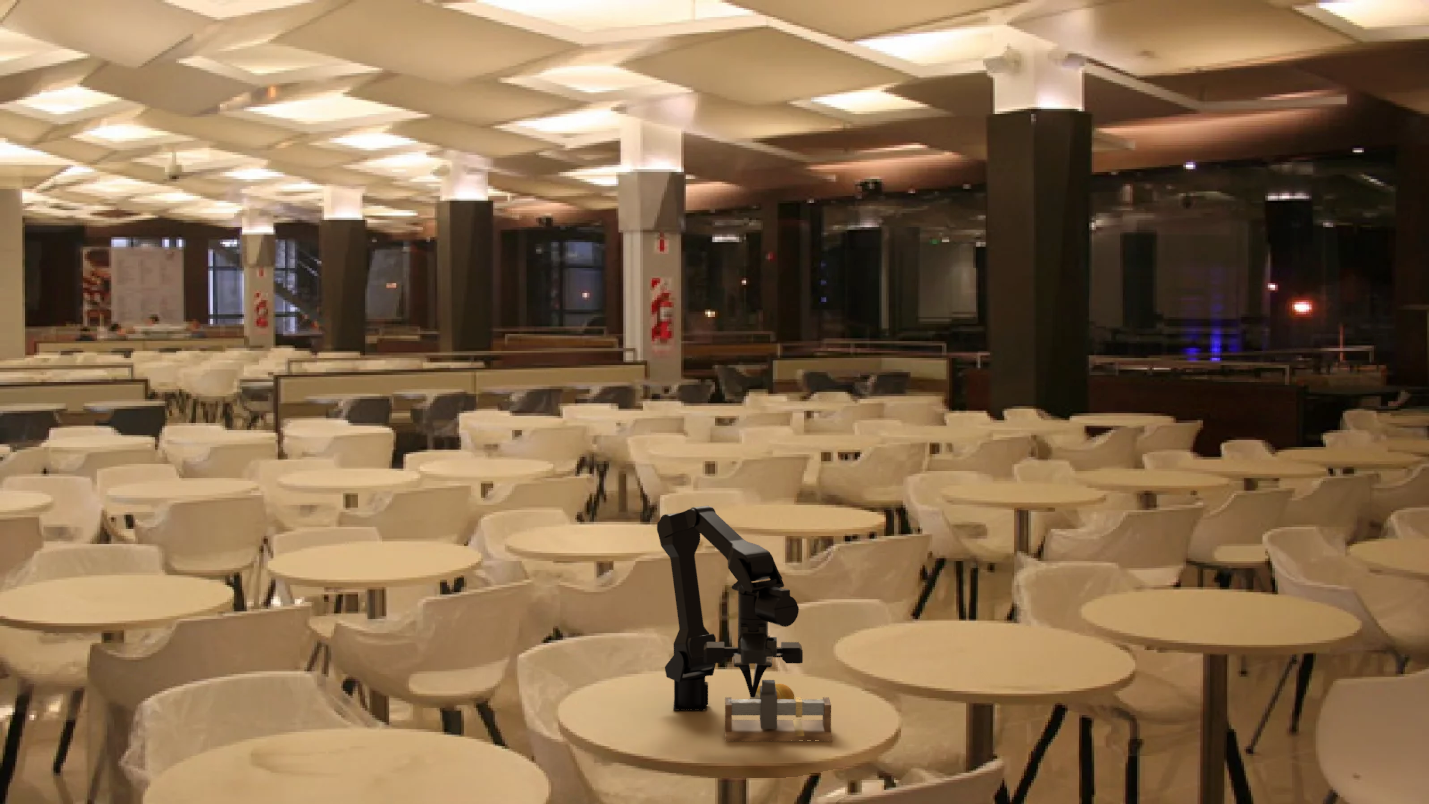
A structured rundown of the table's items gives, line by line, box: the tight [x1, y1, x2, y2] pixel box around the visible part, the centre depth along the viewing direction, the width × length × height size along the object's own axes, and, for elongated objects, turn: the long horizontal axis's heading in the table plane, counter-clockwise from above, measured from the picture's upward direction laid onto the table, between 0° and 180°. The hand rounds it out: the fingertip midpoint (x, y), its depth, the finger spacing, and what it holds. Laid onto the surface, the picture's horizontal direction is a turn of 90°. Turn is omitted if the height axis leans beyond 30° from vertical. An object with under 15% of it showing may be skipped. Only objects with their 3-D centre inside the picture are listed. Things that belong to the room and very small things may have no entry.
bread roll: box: [749, 683, 795, 699], centre depth 297 cm, size 8×9×4 cm
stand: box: [724, 696, 833, 742], centre depth 277 cm, size 20×10×6 cm, turn 90°
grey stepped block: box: [759, 679, 778, 729], centre depth 277 cm, size 3×6×8 cm, turn 0°
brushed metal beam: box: [728, 696, 827, 718], centre depth 277 cm, size 19×3×3 cm, turn 90°
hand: (752, 696), depth 277 cm, fingers closed
